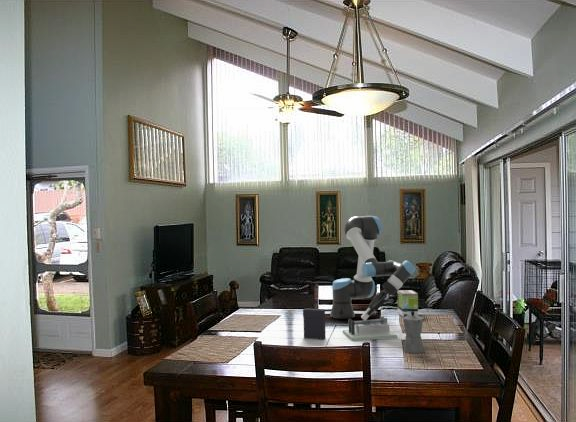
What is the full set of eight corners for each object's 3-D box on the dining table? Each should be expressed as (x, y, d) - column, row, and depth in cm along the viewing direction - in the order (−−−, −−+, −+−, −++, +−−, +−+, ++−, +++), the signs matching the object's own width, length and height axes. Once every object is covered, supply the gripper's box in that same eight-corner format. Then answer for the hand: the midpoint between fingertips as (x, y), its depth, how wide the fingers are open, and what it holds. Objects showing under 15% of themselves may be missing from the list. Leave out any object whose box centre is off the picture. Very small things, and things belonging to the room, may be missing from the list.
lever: (383, 321, 260) (383, 318, 260) (385, 322, 257) (385, 319, 257) (351, 323, 257) (351, 320, 257) (352, 325, 254) (352, 322, 254)
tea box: (418, 317, 301) (418, 293, 301) (402, 317, 301) (401, 293, 301) (412, 312, 316) (412, 289, 316) (397, 312, 316) (396, 289, 316)
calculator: (326, 338, 253) (325, 309, 253) (323, 340, 249) (322, 310, 249) (306, 336, 257) (305, 307, 258) (303, 338, 253) (302, 309, 254)
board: (385, 330, 268) (385, 327, 268) (397, 338, 250) (397, 335, 250) (342, 332, 264) (342, 329, 264) (351, 340, 246) (351, 337, 246)
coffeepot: (430, 353, 220) (429, 313, 221) (411, 355, 218) (410, 314, 218) (413, 345, 235) (412, 307, 236) (395, 346, 233) (394, 308, 233)
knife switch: (381, 328, 264) (381, 315, 264) (389, 334, 252) (389, 319, 252) (347, 330, 261) (346, 316, 261) (353, 336, 249) (353, 321, 250)
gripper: (402, 291, 253) (372, 326, 250) (392, 288, 266) (363, 321, 263) (392, 282, 252) (361, 316, 249) (382, 279, 266) (354, 311, 262)
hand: (362, 318), depth 256 cm, fingers closed
